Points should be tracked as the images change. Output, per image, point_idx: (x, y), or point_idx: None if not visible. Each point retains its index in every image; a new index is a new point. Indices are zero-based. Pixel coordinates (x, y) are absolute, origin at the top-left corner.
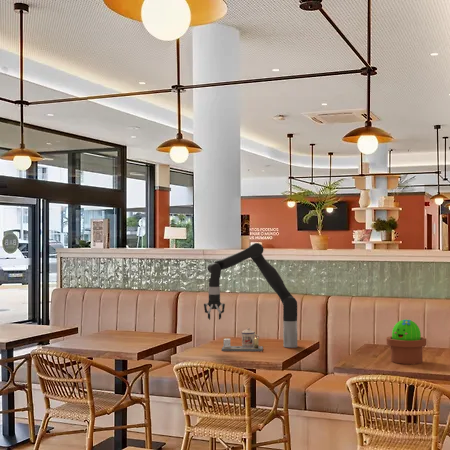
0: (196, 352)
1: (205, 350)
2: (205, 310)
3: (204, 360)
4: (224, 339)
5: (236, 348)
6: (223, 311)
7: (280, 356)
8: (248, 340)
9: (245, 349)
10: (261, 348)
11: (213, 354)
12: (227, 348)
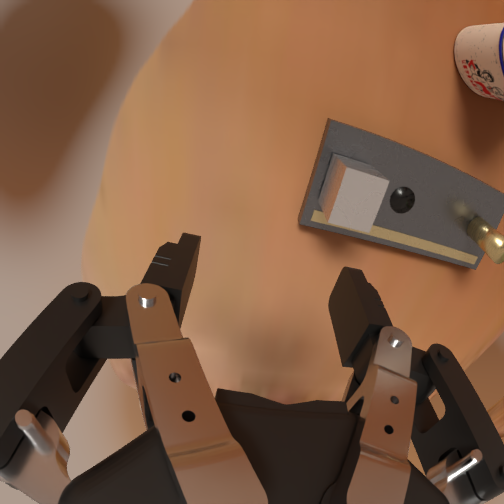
0: (151, 236)
1: (201, 177)
2: (75, 371)
3: None
4: (338, 211)
5: (383, 238)
6: (418, 403)
7: (458, 356)
8: (497, 98)
9: (419, 252)
10: (480, 256)
11: (239, 303)
12: (336, 226)
